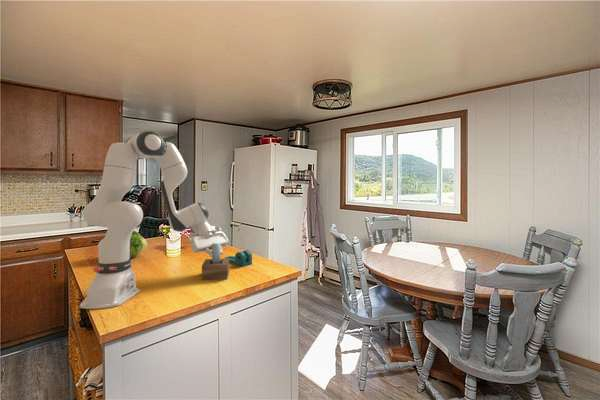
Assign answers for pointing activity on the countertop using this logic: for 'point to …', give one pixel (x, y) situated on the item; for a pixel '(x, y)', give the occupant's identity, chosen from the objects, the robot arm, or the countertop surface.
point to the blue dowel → (216, 253)
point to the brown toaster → (215, 270)
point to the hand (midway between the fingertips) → (217, 254)
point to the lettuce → (137, 244)
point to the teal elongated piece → (241, 258)
